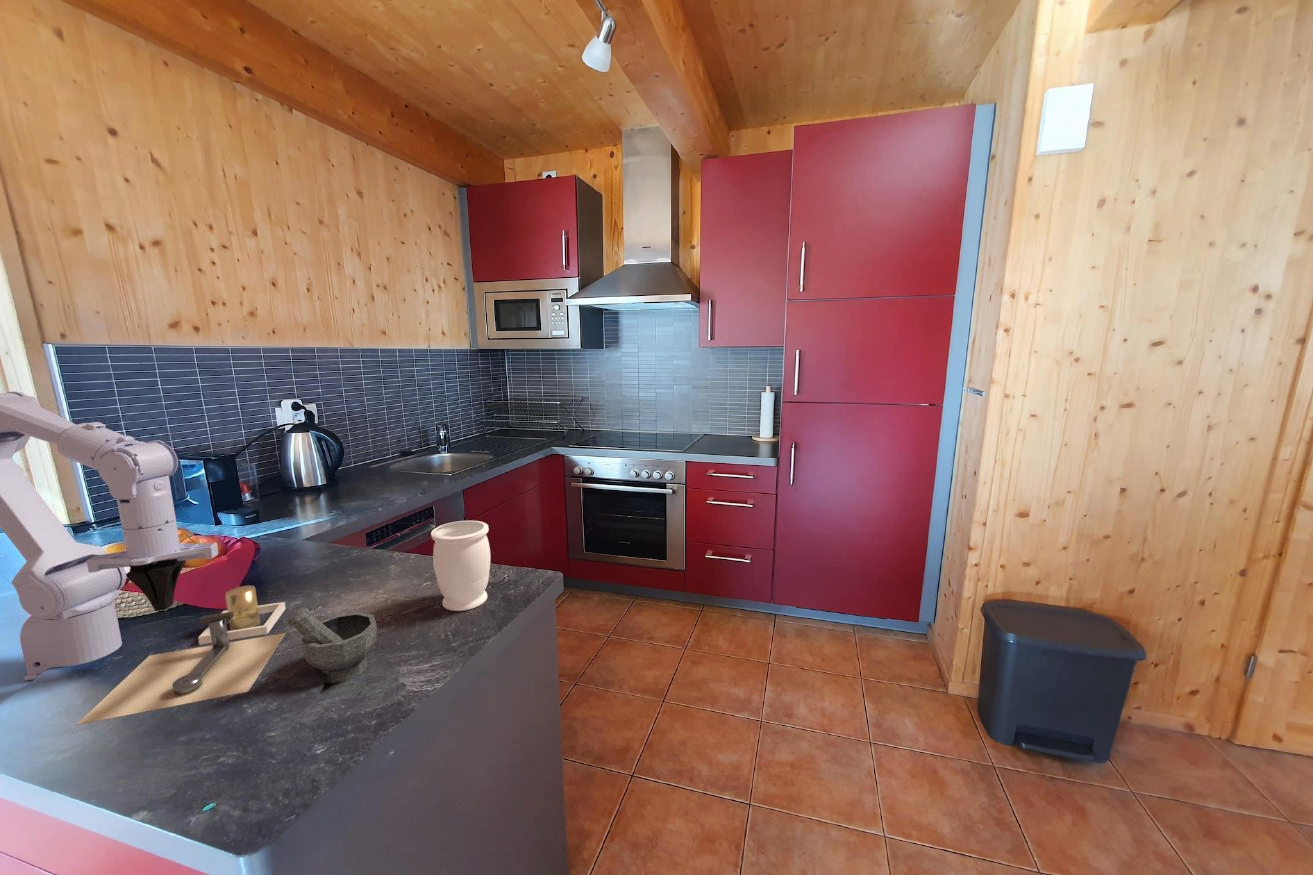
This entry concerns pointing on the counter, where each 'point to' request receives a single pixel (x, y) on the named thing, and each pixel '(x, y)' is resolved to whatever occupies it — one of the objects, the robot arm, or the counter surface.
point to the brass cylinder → (243, 607)
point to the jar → (462, 563)
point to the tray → (253, 631)
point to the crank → (219, 647)
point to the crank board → (159, 671)
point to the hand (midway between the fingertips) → (164, 607)
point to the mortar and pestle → (336, 642)
